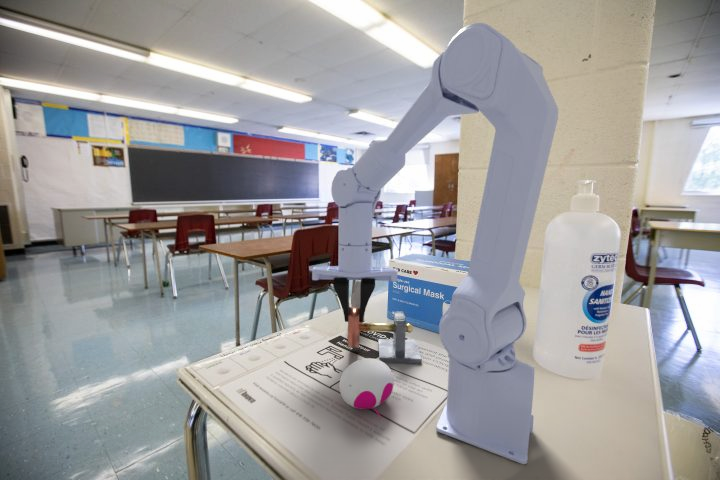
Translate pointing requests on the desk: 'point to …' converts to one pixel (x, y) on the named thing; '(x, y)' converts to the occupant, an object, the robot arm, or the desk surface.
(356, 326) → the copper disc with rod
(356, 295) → the fossil
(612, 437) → the desk surface
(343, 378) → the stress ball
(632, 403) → the desk surface
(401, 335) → the eye post
